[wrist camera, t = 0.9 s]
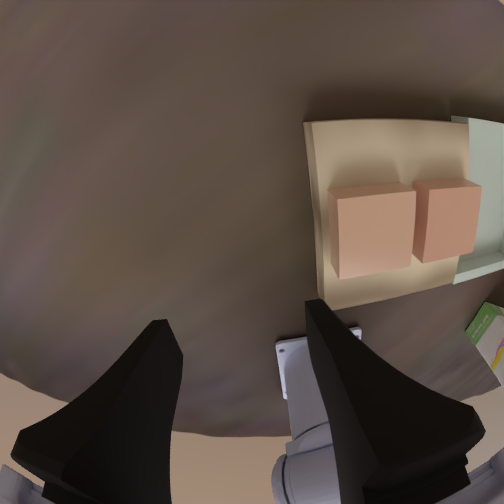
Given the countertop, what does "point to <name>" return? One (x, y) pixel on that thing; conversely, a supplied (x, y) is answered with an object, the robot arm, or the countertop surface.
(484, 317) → the ink box
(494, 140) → the tray
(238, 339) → the countertop surface
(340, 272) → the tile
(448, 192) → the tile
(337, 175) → the beige square slab
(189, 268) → the countertop surface
